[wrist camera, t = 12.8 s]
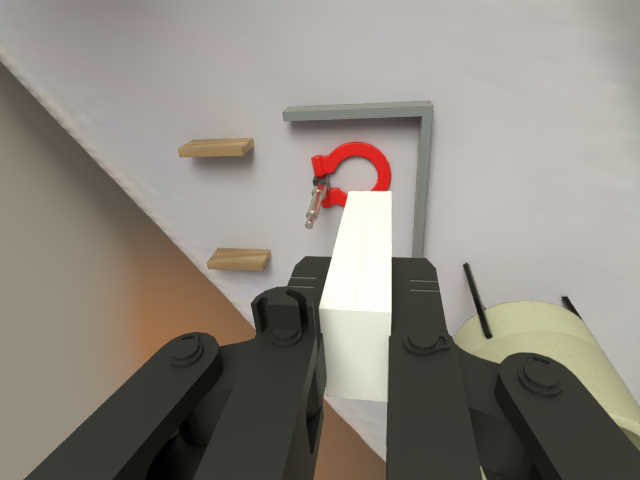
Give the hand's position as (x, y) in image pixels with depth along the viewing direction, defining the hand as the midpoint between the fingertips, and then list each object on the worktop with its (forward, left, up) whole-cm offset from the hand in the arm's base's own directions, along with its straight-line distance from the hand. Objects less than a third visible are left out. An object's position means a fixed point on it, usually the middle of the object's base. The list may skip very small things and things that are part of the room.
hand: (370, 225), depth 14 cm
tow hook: (+10, -4, -33) cm, 34 cm away
